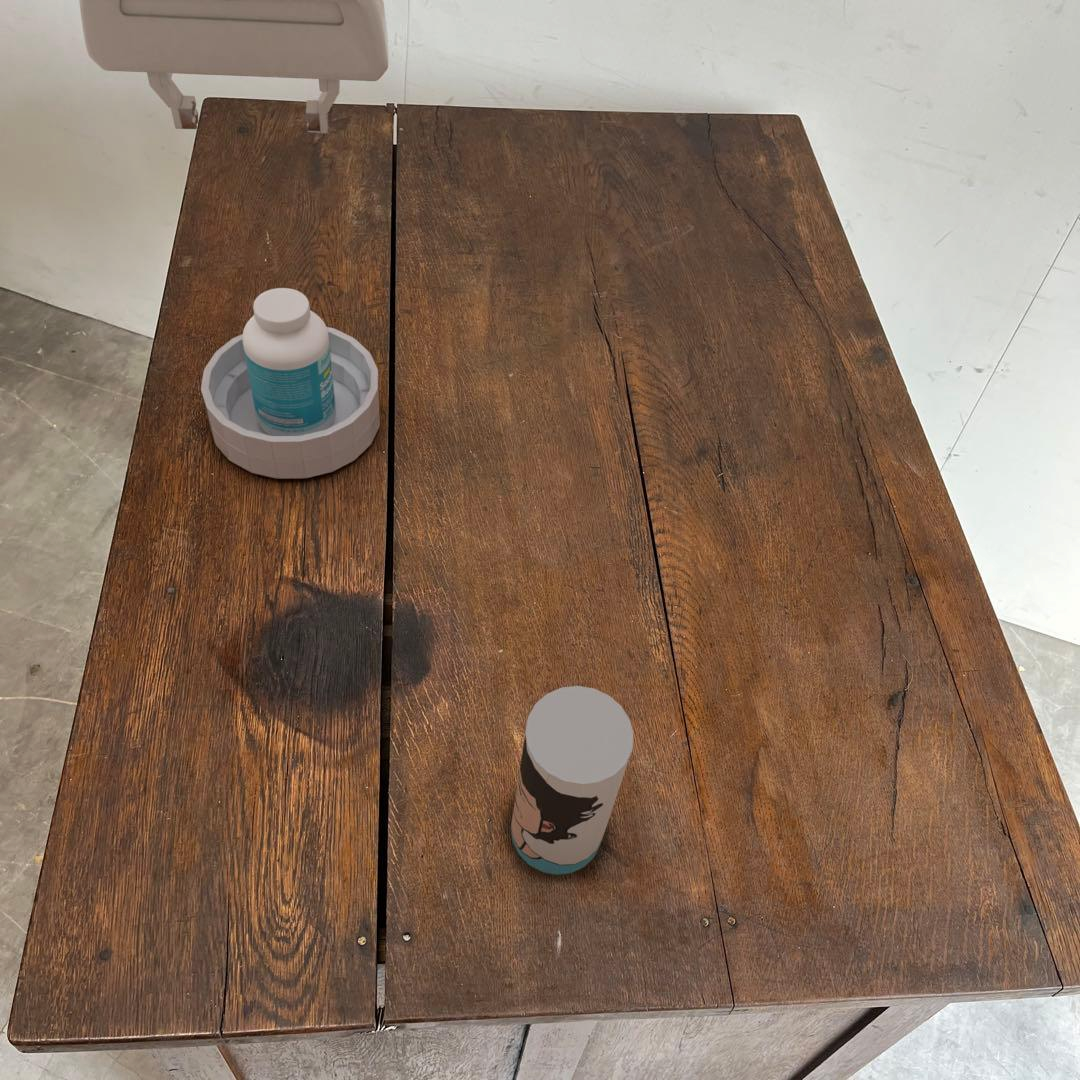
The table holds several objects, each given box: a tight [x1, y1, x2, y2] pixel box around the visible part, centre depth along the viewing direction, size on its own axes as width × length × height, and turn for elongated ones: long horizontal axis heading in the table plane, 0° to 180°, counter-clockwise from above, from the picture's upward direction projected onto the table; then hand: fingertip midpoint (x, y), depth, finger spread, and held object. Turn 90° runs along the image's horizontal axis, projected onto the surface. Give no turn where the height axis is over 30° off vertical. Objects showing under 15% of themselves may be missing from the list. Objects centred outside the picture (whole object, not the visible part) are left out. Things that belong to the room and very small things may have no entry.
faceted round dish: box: [200, 326, 381, 480], centre depth 96 cm, size 16×16×6 cm
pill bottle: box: [242, 287, 336, 436], centre depth 93 cm, size 8×7×14 cm
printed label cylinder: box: [510, 685, 634, 876], centre depth 70 cm, size 7×7×15 cm
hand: (253, 127), depth 76 cm, fingers open, 8 cm apart
